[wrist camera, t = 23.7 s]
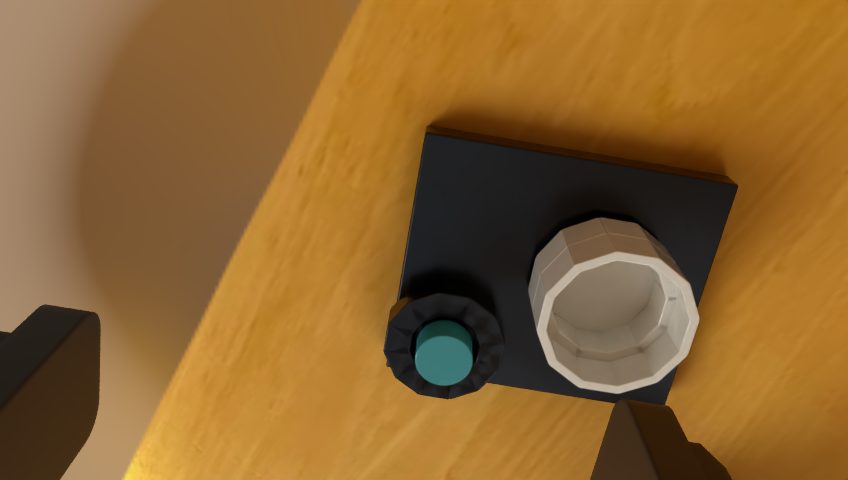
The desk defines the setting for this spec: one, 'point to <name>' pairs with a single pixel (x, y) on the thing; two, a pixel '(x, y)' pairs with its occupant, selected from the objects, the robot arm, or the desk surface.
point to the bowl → (611, 306)
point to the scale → (530, 248)
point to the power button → (444, 352)
